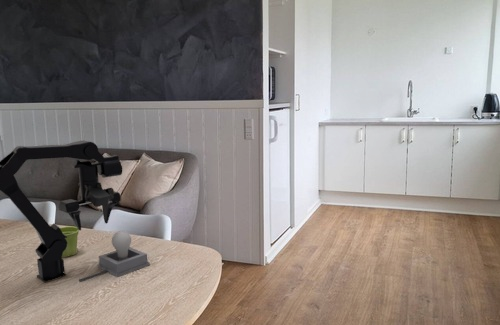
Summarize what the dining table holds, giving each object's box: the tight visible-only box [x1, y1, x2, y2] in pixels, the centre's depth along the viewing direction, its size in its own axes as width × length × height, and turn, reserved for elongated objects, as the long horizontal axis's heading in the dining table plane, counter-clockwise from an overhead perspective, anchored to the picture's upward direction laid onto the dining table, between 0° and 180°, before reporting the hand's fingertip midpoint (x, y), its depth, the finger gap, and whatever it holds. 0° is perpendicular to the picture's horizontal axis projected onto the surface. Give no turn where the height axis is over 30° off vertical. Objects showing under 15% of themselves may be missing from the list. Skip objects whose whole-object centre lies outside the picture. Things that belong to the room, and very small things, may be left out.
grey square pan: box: [78, 246, 151, 283], centre depth 138 cm, size 21×12×4 cm, turn 137°
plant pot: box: [59, 226, 80, 258], centre depth 153 cm, size 9×9×9 cm
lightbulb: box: [111, 230, 132, 262], centre depth 140 cm, size 6×6×11 cm
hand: (93, 226), depth 141 cm, fingers open, 9 cm apart
